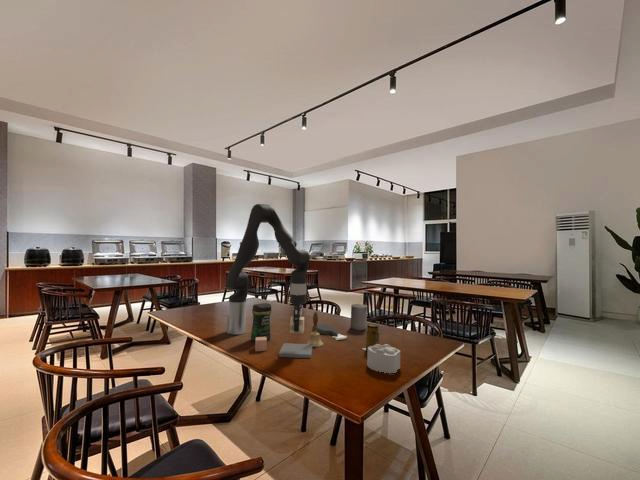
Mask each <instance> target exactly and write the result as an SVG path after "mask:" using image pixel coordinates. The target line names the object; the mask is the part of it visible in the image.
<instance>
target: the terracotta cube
mask: <svg viewBox="0 0 640 480" xmlns="http://www.w3.org/2000/svg"><path fill="white" fill-rule="evenodd" d="M254 342H255V346H254V350H255V352H266V351H267V348H268V347H267V346H268V343H267V342H268V340H267V338H266V337H256V338H255V341H254Z"/></svg>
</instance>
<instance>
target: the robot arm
mask: <svg viewBox="0 0 640 480" xmlns="http://www.w3.org/2000/svg"><path fill="white" fill-rule="evenodd" d="M250 210H251V211H250V213H249V217H248V221H247V224H246V225H247V226H246V229H245V232H244V235H243V238H242V241H241V243H240V244H239V248H238V252H237V253H236V257H235V259H234V261H233V263H232V266H231V268H230V269H229V271H228V273H227V275H226V279H225V280H226V281H225V284H226V287H227V288H228V289H229V290H236V291H235V292H234V293H232V294H231V295H229V297H228V315H227V316H226V334H228V335H235V336H237V335H242V334H245V333H246V320H247V319H246V316H247V315H246V314H247V313H246V312H247V297H248V292H249V291H248V290H249V275H248V274H247V272H245V271H242V270H244V268H245V267H246V266H248V265H249V264H250V262H252V261H253V259H254V258H255V257H256V255H257V252H258V250H259V247H260V241H259V237H258V230H259V228H260V225H261V224H262V223H268V224H269V225H270V226H271V227H272V229H273V233H274V237H275V240H276V242H277V244H278V245H279V246H280V247H281V248H282V250H283V251H284V254H285V256H286V259H287V261H288V262H289V263H290V265H291V264H292V265H293V266H296V267H295V269H294V270H292V271H291V272H290V273H291V274H290V286H289V287H290V288H289V303H290V304H292V305H294V306H293V308H292V313H293V314H292V317H293V323H294V331H295V332H298V331H299V323H300V321H299V320H300V318H301V317H303V316H302V314H303V305H304V304H306V303H307V273H308V269H309V266H310V261H311V257H310V254H309V252H308V250H306V249H298V248H297V244H298V243H297V242H296V240H295V238H293V236H292V235H291V234H290V233H289V231H288V229H287V228H286V227H285V226H284V223H283V222H282V220H281V218H280V217H279V215H278V213H277V211H276V210H275V208H274V207H273V206H272V205H271V204H270V205H269V204H265V203H257V204H254V205H253V206H252V208H251V209H250ZM295 318H298V320H295Z"/></svg>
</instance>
